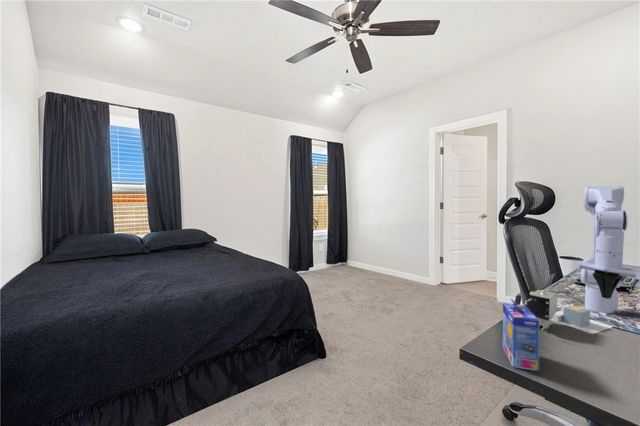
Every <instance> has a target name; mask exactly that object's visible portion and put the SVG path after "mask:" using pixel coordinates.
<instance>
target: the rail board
mask: <svg viewBox="0 0 640 426" xmlns="http://www.w3.org/2000/svg"><path fill="white" fill-rule="evenodd" d="M550 319H551V322H552V321H553V322H556V323H558V324H562V325H563V326H564V325H565V326H567V327H570V328H573V329H576V330H579V331H582V332H585V333H588V334H591V335H593V334H596V333H597V334H598V333H599V332H603V331H606V330H608V329H612V328H614V327H615V326H614V325H610V324H607V323H603V322H600V321H597V320H594V319H591V318H590V325H587V326H584V327H581V328H580V327H577V326H574V325H571V324H568V323H565V322H563V310H559V311H556V313H555V314H554V315H553V316H552V318H550Z"/></svg>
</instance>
